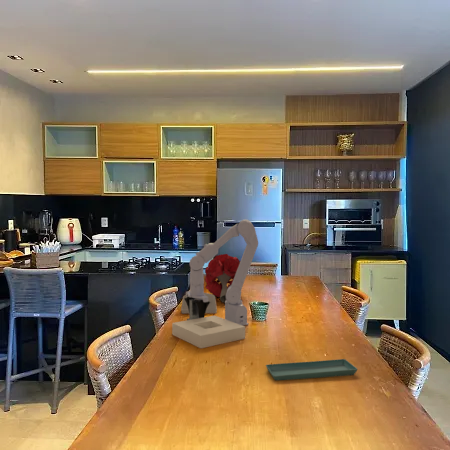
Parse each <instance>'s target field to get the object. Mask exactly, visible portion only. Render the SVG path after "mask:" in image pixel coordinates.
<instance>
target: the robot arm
mask: <svg viewBox="0 0 450 450" xmlns="http://www.w3.org/2000/svg"><path fill="white" fill-rule="evenodd" d="M239 236H241V237H242V238H243V239H244V241H245V243H246V246H245V249H244V251H243V254H242V257H241V259H240V260H239V262H240V264H239V267H238V269H237V272H236V274H235V277H234V280H233V279H232V280H233V282H232V284H231V286H229V287H228V286H227V287H228V289H227V293H226V301H225V303H224V319H226V320H228V321H231V322H234V323H237V324H239V325H242V326H248V325H249V323H248V309H247V306H245V305H244V304H243V300H242V299H241V298H242V289H243V287H244V283H245V280H246V277H247V275H248V273H249V269H250V267H251V264H252V262H253V259H254V257H255V254H256V251H257V249H258V246H259V240H258V236H257V231H256V228H255V226H254V225H253V223H252V222H251V221H250V220H249V219H242V220H241V221H239V223H236V224H235V225H233V226H231V227H230V228H229V229H227V230H226V231H225V232H224V233H223V234H222V235H221V236H220V237H219V238H217V240H216V241H215V242H210V243H208V244H207V243H205V244H204V245H203V248H202V249H201V250H199V251H197V252H196V253H195V255H194V256H192V257H191V258H190V259H189V267H190V272H189V290H188V291H185V295H186V296H188V297H187V298H185V301H186V303H187V306H188V310H189V313H188V315H190V300H192V299H198V300H200V301H197V302H196V304H197V306H198V312H199V318H204V317H206V313H205V312H206V309H207V307H208V305H209V303H210V302H209V301H208V297H207V296H206V295H204V293H205V292H204V291H205V289H204V288H205V286H204V285H205V283H204V282H205V277H204V276H205V275H204V274H205V273H204V266H205V264H208V263H209V262H210V261H211V260H213V259H214V258H215V257H216V256H217V255H219V249H220V248H221V247H223V246H224V245H225V244H226V243H227V242H228V241H230V240H231V239H232V238H235V237H239Z"/></svg>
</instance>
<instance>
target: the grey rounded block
mask: <svg viewBox="0 0 450 450" xmlns="http://www.w3.org/2000/svg"><path fill="white" fill-rule="evenodd" d="M204 295H206V296H207V297H208V301H209V302H210V303H209V305H208V307H207V309H206V312H205V314H217V311H218V307H217V300H216V296H215V295H213V294H212V293H210V292H204ZM187 297H188V296H186V294H185V295H183V297H182V301H181V308H180V311H181V314H189V310H188V306H187V303H186V301H185V298H187Z"/></svg>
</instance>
